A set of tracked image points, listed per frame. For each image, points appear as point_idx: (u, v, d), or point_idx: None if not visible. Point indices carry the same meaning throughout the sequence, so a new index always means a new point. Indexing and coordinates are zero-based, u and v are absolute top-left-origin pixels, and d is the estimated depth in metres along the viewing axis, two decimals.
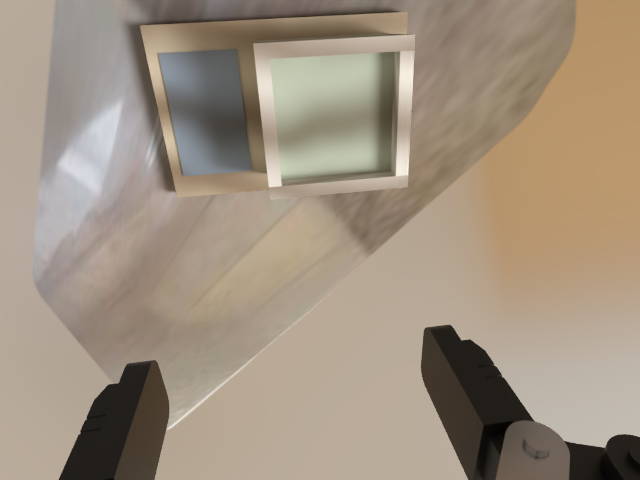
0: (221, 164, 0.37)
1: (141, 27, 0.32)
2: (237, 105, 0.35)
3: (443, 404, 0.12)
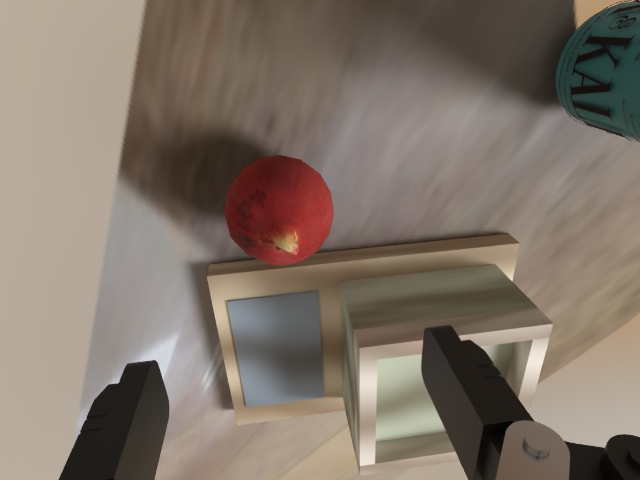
0: (290, 394, 0.32)
1: (208, 277, 0.27)
2: (314, 341, 0.30)
3: (443, 404, 0.12)
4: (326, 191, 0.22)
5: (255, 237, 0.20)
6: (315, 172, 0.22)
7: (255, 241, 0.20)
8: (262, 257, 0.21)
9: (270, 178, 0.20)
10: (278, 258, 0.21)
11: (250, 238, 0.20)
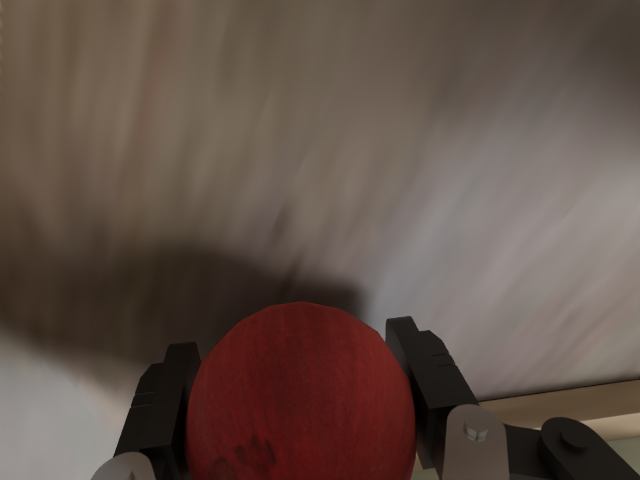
0: None
1: None
2: None
3: None
4: (406, 394, 0.10)
5: None
6: (381, 350, 0.10)
7: None
8: None
9: (285, 403, 0.08)
10: None
11: None
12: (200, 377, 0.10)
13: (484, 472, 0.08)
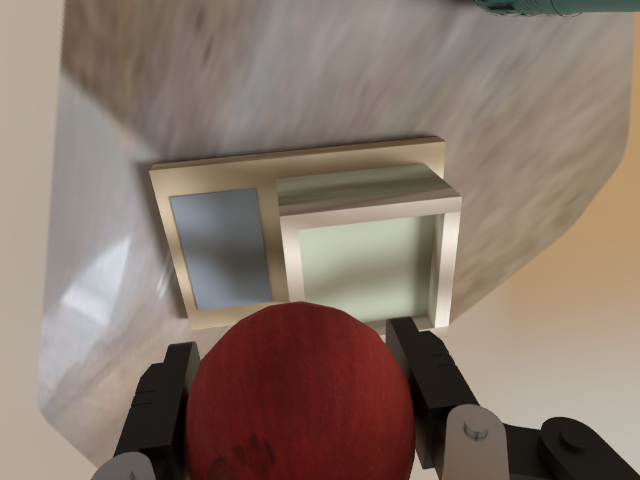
0: (239, 297, 0.34)
1: (150, 172, 0.29)
2: (257, 241, 0.32)
3: None
4: (405, 394, 0.10)
5: None
6: (380, 350, 0.10)
7: None
8: None
9: (284, 402, 0.08)
10: None
11: None
12: (199, 377, 0.10)
13: (484, 473, 0.08)
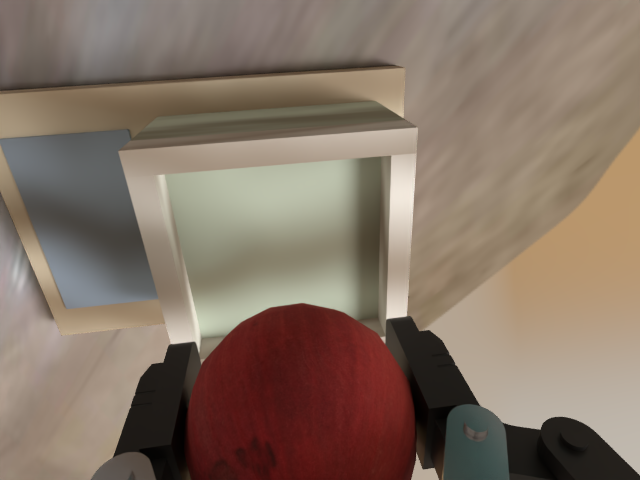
0: (123, 291, 0.24)
1: None
2: None
3: None
4: (406, 396, 0.10)
5: None
6: (381, 352, 0.10)
7: None
8: None
9: (285, 405, 0.08)
10: None
11: None
12: (200, 379, 0.10)
13: (484, 472, 0.08)
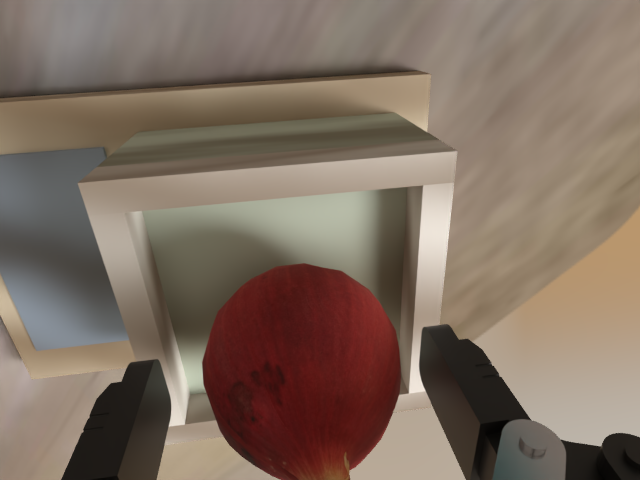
0: (102, 330, 0.21)
1: None
2: None
3: (440, 403, 0.12)
4: (393, 339, 0.12)
5: (263, 459, 0.10)
6: (372, 302, 0.12)
7: (260, 462, 0.10)
8: (273, 475, 0.11)
9: (292, 336, 0.10)
10: None
11: (251, 454, 0.10)
12: (218, 322, 0.12)
13: None
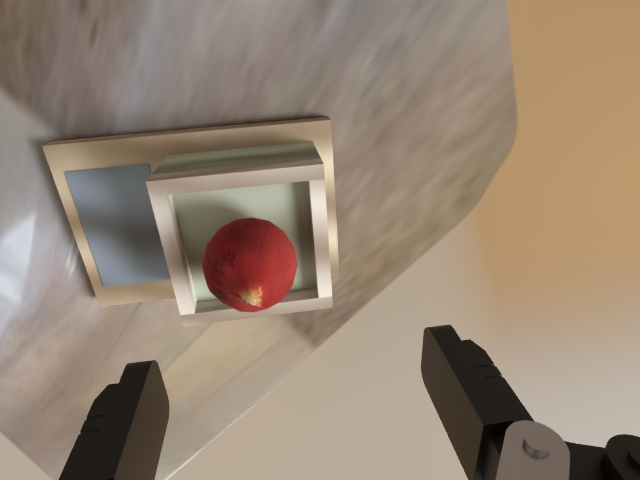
0: (143, 274, 0.35)
1: (44, 147, 0.30)
2: (155, 217, 0.33)
3: (443, 404, 0.12)
4: (289, 249, 0.25)
5: (226, 291, 0.23)
6: (280, 233, 0.26)
7: (226, 294, 0.24)
8: (233, 307, 0.24)
9: (240, 241, 0.24)
10: (246, 308, 0.24)
11: (222, 291, 0.24)
12: (209, 241, 0.25)
13: None
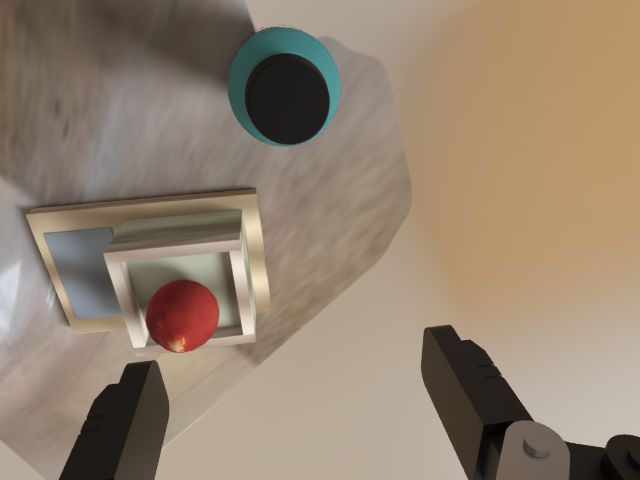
0: (109, 309, 0.43)
1: (26, 215, 0.38)
2: None
3: (443, 404, 0.12)
4: (211, 306, 0.34)
5: (159, 340, 0.32)
6: (204, 293, 0.34)
7: (159, 341, 0.32)
8: (166, 349, 0.33)
9: (170, 302, 0.32)
10: (175, 351, 0.33)
11: (157, 339, 0.32)
12: (150, 299, 0.34)
13: None
